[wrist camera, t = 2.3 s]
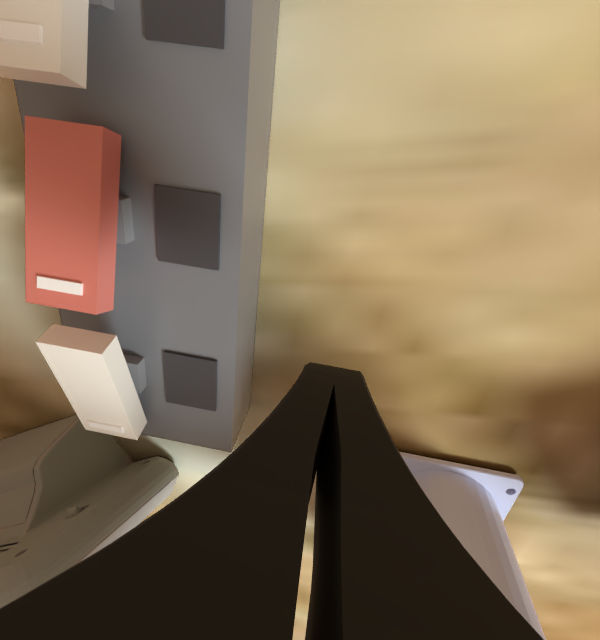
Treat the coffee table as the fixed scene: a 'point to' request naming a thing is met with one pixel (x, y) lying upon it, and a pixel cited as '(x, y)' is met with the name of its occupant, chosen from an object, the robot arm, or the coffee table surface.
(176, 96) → the power strip
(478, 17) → the coffee table surface
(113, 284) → the plate
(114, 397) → the block
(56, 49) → the rocker
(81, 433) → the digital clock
